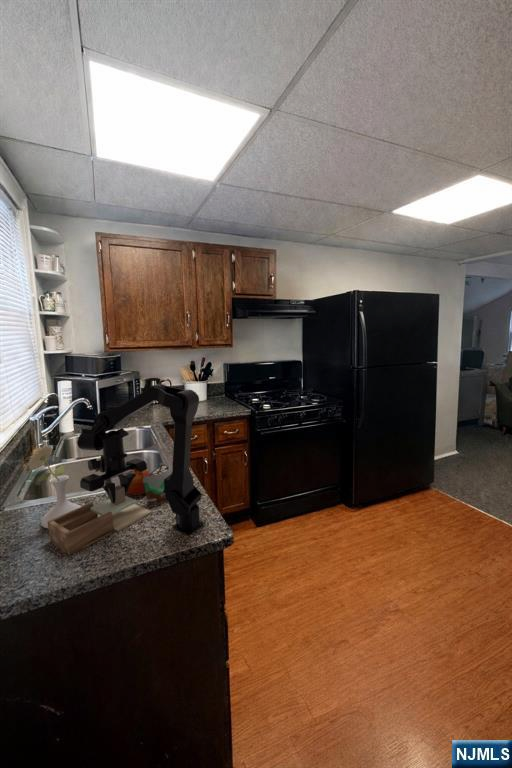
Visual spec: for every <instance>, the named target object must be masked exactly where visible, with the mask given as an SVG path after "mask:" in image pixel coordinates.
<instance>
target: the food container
mask: <svg viewBox="0 0 512 768" xmlns="http://www.w3.org/2000/svg"><path fill="white" fill-rule="evenodd" d="M170 474H172V470H171V468H170V466H169V465H168V464H167V463H160V466H158V468H155V469H154V470H152V471H151V472H150V475H148V476H144V478H143V483H145V490H146V492H145V495H146V502H147V503H146V504H149V505H150V504H158V503H161V502H163V501H165V499H166V498H165V493H163V491H164V479H165V478H167V477H168V476H169V475H170Z"/></svg>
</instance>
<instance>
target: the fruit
mask: <svg viewBox="0 0 512 768" xmlns="http://www.w3.org/2000/svg"><path fill="white" fill-rule="evenodd" d="M133 473H134V474H136V476H135V477H134V478H133V480H132V482H131V484H130V486H129V489H128V491H127V494H129V495H133V496H139V495H143V494H144V493H146V490H145V483H143V478H144V476H148V475H150V474H151V472H149V471H148V469H146V470H144V471H142V472H139V471H137V469H134V470H133Z"/></svg>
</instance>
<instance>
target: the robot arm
mask: <svg viewBox="0 0 512 768" xmlns="http://www.w3.org/2000/svg"><path fill="white" fill-rule="evenodd" d="M154 402H158V403H159V404H160V405H162V406H163V407H166V408H168V409H169V415H170V417H171V418H172V420H173V423H174V427H173V428H174V429H173V430H174V431H173V447H172V449H173V450H172V452H173V453H172V470H171V474H170V475H169V476H168V477H167V478H165V479H164V491H163V493H165V498H166V501H167V502H168V505H169V507H170V510H171V511H172V512H171V513H173V514H175V522H176V524H174V525H172V529H174V530H175V531H177V532H180V533H182V534H184V535H187V536H188V535H190V534H192V533H194V531H196V530H198V529H199V528H201V527H202V526H204V521H202V520H200V506H198V503H199V502H200V501H201V500H202V497H203V493H202V492H201V491H200V490H199V489H198V488H197V487H196V486H195V485H194V477H193V475H192V473H191V470H190V465H191V447H192V446H191V445H192V431H193V429H192V427H193V421H194V420H195V419H194V418H195V417H196V416H197V415H196V414H197V412H198V407H199V403H200V396H199V394H197V392H196V391H194V390H192V389H183V388H177V387H172V386H169V385H165V384H163V383H158V384H154V385H153V384H152V385H151V386H149V388H147V389H145V390H144V391H142V392H141V393H139V394H138V395H136V396H134V397H132V398H131V399H129V400H127V401H125V402H124V403H122V404H120V405H118V406H115V407H113V408H110V409H107V410H103V411H101V412H98V413H97V414H96V416H95V418H96V419H95V422H94V423H93V425H92V427H90V426H88V427H87V426H85V427H84V428H81V433H80V434H79V436H78V438H77V441H76V444H77V447H78V448H79V450H84V451H98V452H99V451H102V454H100V459H99V460H97V458H92V459H89V460H87V467H88V470H89V471H94V470H95V471H94V472H95V473H97V472H99V471H100V473H104V474H101V475H99V474H95V473H92V474H88V475H86V476H83V477H81V479H80V482H79V485H80V488H81V489H83V490H85V491H87V492H95V491H98V490H100V489H103V490H104V492H106V495H107V496H108V498H109V499H110V500H111V502H112V503H115V486H116V483H115V482H113V481H112V480H113V478H116V477H118V480H119V485H120V486H123V487H124V488H125V496H127V494H128V492H127V491H128V489H129V486H130V484H131V482H132V480H133V478H134V477H135V476H136V474H134V473H133V470H134V469H137V471H139V472H142V471H144V470H148V463H147V461H145V460H143V459H140V458H139V459H138V458H133V459H130V460H128V461H125V460H126V459H125V458H127V457H128V453H127V452H125V450H124V449H125V447H124V438H125V437H127V436H129V435H130V433H129V431H126V430H125V429H124V428H119V427H122V426H123V425H124V424H125V423H126V422H128V421H129V420H130V418H131V417H132V416H133V415H134V414H136V413H138V412H139V411H141V410H143V409H144V408H146V407H148V406H150V405H151V404H153V403H154ZM117 428H118V429H117ZM115 429H117V430H115ZM109 499H108V500H109Z"/></svg>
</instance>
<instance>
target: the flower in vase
mask: <svg viewBox="0 0 512 768" xmlns="http://www.w3.org/2000/svg"><path fill="white" fill-rule="evenodd" d="M52 454H53V447H52V445H48V444H44V445H43V446H42V447H41V446H39V447H38V448H37V450H35V452H34V454H31V455H30V457H29V458H30V460H29V461H28V462H27V466H29V467H28V469H30V470H33V469H38V468H40V467H41V466H43V465H44V464H45V465H46V466H47V467H48V470H49V472H45V473H43V474H42V475H40V476H39V478H38V479H37V481H36V482H37V483H38V482H42V481H46V480H48V478H49V477H50V476H51V475H53V477H51V479H49V483H50V484H51V485H52V486H53V487H54V490H55V492H56V503H55V504H54V506H53V507H51V509H49V510H48V511H47V512H46V513H45V515H43V517H42V519H41V522H40V524H41V526H42V527H43V528H45V529H48V521H50V520H52V519H55V518H57V517H59V516H62V515H64V514H66V513H69V512H71V511H73V510H75V509H78V508H80V507H82V506H81V505H79V504H78V503H74V502H71V501H69V500H68V499H67V495H66V485H67V481H68V480H69V478H70V476H69V475H67V474H66V475H65V474H64V475H63V473H64V472H65V470H66V465H65V463H62V464H61V465H60V466H58V467H57V468H56V469H54V472H53V471H52V469H51V467H50V465H49V463H48V460H49V458H50V457H51V455H52ZM61 474H62V475H61Z"/></svg>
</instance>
